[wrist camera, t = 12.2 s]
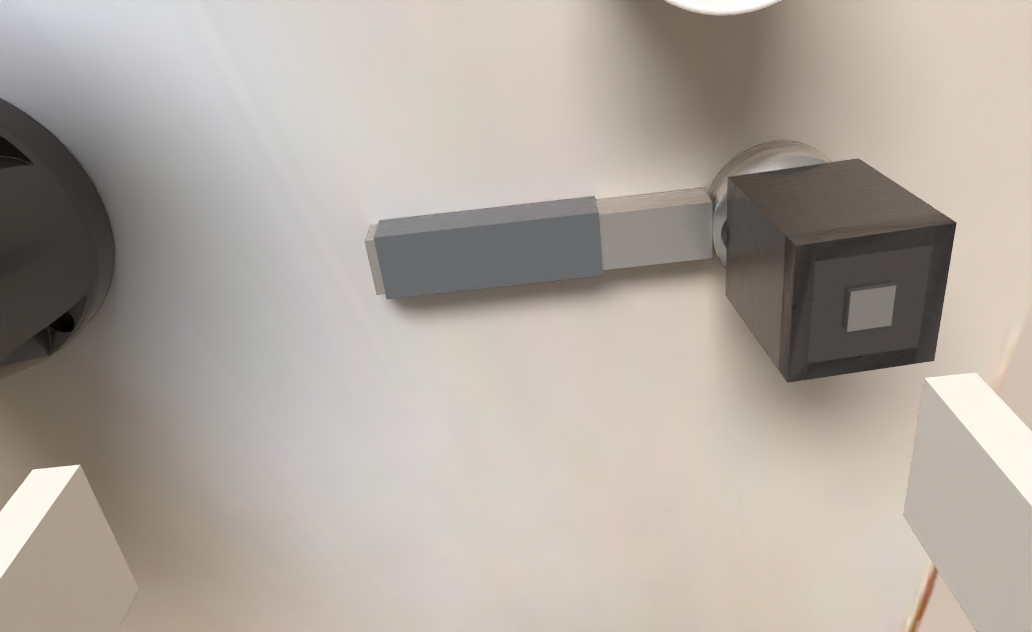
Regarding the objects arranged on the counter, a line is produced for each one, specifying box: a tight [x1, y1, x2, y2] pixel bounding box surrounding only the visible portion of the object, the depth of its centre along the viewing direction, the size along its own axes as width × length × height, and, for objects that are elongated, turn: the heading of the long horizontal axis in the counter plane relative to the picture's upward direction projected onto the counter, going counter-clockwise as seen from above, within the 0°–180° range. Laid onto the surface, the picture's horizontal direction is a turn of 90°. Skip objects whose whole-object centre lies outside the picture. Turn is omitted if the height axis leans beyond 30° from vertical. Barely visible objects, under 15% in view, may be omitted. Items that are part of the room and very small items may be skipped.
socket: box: [726, 159, 956, 382], centre depth 35 cm, size 6×6×8 cm
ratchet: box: [365, 141, 831, 299], centre depth 39 cm, size 24×7×6 cm, turn 96°
